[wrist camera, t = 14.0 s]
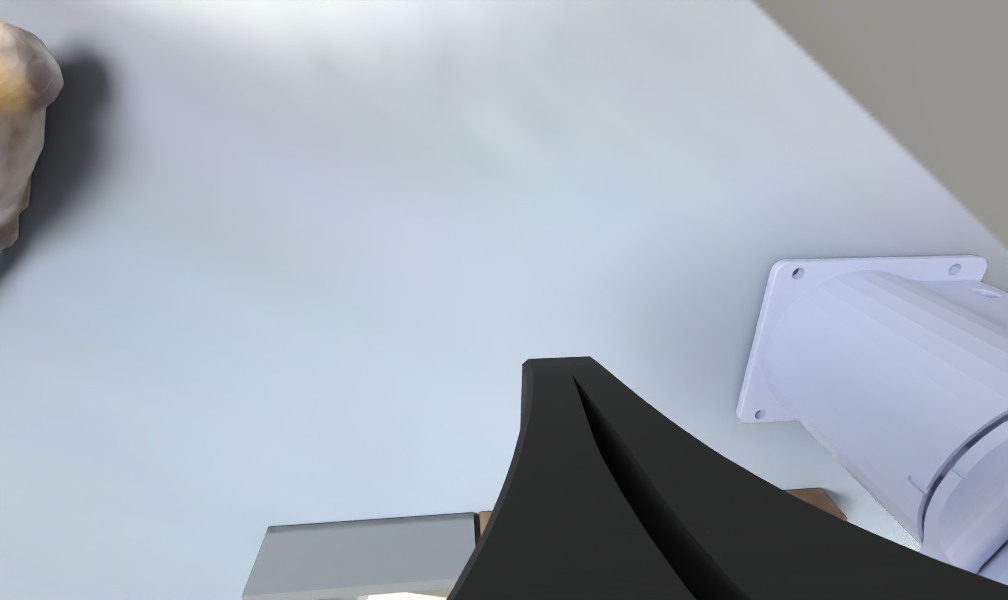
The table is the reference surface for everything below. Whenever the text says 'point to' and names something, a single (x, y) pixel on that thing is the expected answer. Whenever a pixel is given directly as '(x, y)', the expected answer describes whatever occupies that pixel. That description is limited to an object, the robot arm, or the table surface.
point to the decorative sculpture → (22, 119)
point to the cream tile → (411, 595)
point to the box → (361, 558)
